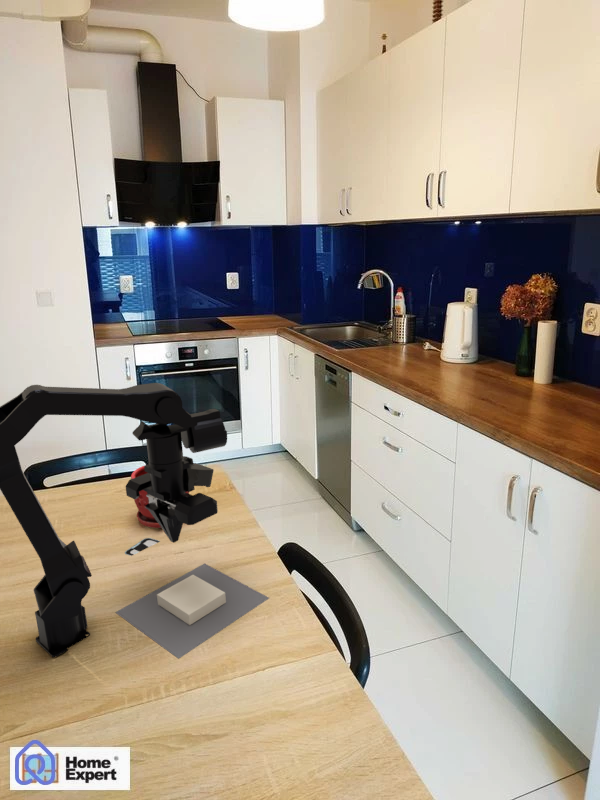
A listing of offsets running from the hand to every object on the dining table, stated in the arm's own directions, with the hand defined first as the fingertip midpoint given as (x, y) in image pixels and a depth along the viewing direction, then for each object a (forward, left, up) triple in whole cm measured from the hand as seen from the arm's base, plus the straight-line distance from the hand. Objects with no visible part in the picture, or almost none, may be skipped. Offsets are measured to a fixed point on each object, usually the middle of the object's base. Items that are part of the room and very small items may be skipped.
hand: (174, 541), depth 102 cm
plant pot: (+17, +28, -12) cm, 35 cm away
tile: (0, +1, -10) cm, 10 cm away
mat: (0, -4, -12) cm, 12 cm away
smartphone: (+7, +15, -12) cm, 21 cm away
